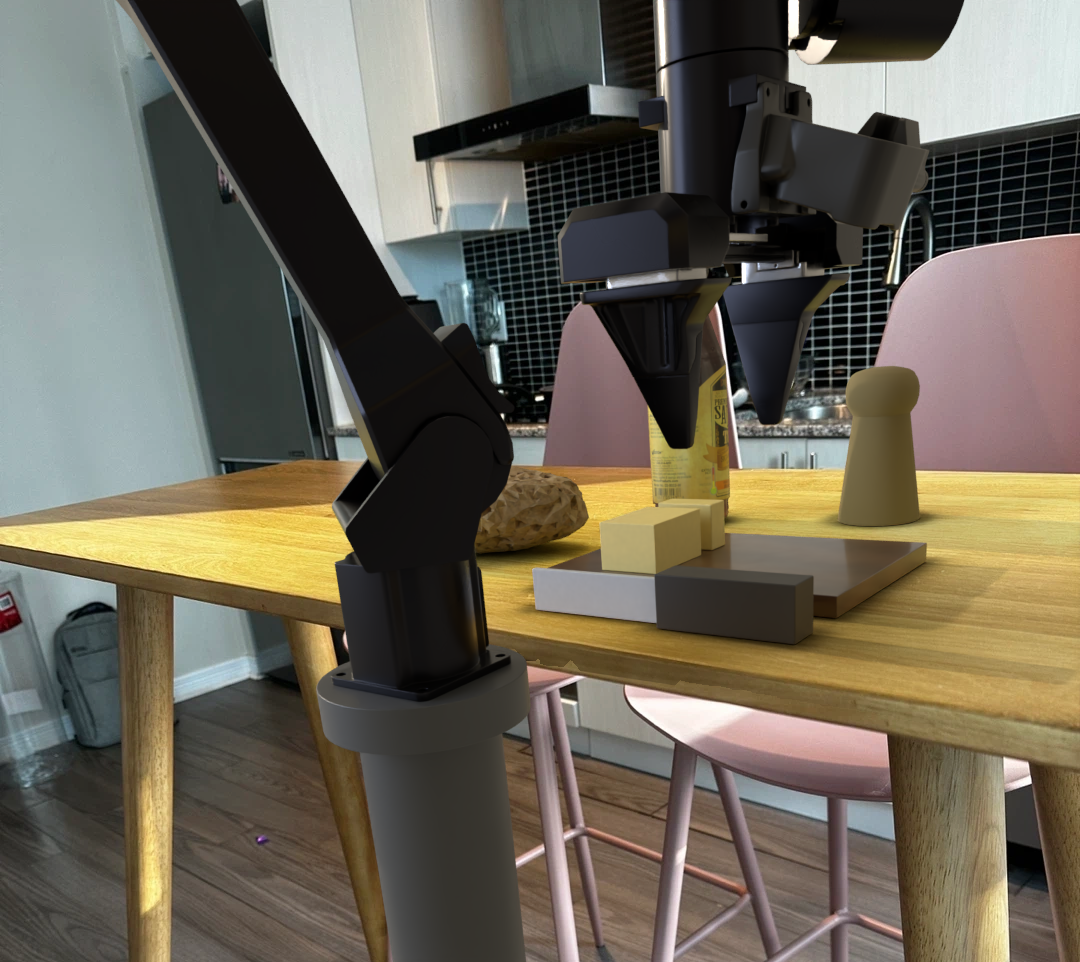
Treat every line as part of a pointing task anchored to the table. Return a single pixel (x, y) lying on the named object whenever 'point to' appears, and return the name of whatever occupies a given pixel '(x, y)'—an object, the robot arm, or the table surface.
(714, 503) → the block
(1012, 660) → the table surface
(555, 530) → the sponge
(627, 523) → the butter block
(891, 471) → the cork
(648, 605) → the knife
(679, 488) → the sauce bottle
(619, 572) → the cutting board
